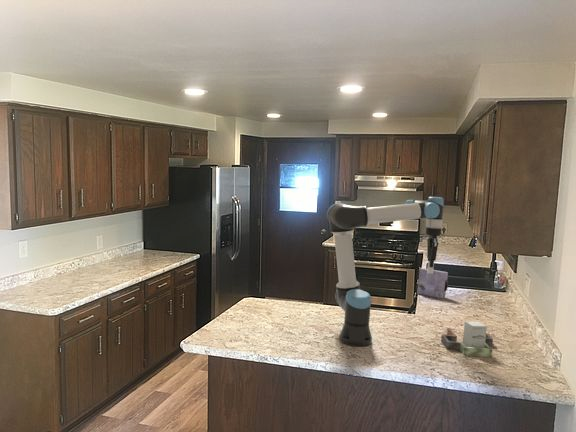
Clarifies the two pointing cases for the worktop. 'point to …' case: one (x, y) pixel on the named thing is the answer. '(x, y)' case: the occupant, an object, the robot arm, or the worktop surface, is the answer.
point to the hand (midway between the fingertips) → (430, 273)
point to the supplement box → (474, 334)
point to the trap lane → (452, 344)
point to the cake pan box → (432, 283)
